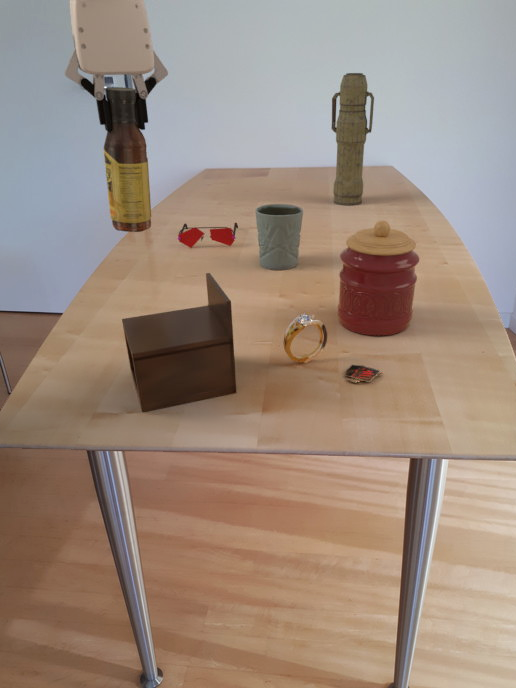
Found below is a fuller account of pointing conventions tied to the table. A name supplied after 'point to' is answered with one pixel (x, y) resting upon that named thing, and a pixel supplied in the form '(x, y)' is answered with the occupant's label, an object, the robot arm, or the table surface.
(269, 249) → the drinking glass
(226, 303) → the shelf
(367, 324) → the kitchen canister
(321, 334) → the ring
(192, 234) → the glasses
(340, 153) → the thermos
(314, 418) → the table surface
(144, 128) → the robot arm
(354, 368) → the matchbox
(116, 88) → the sauce bottle
